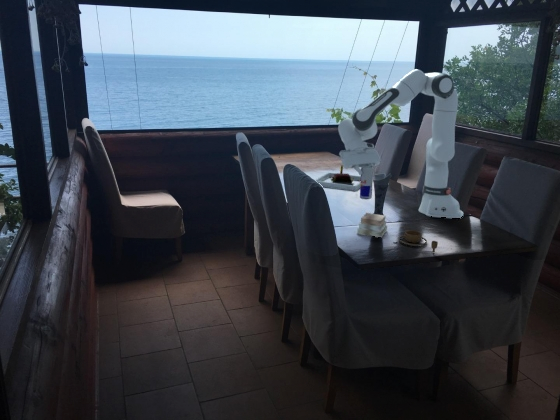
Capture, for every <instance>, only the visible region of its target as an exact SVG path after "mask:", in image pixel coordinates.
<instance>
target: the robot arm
mask: <svg viewBox="0 0 560 420" xmlns="http://www.w3.org/2000/svg"><path fill="white" fill-rule="evenodd" d="M454 84H455V83H454V80H453V78H452V76H451V75H449V74H447V73H445V72H436V71H435V72H434V71H433V72H424V71H422V70H421V69H417V68H415V69H413V70H410V71H409V72H407V73H406V74H405V75H404V76H402V77H401V78H400V79H399V80H398V81H397V82H396V83H395V84H393V86H391V87H390V88H388V89H386V90H384V91H383V92H381V94H379V95H378V96H377V97H376V98H375V99H373V100H372V101H371V102H370V103H368V104H367V105H365V106H362V107H361V108H359V109H357V110H356V111H355V112H354V113H353V115H352V117H351V118H348V117H347V118H345V119H343V120H341V121H340V122H339V124H338V127H337V130H338V135H339V137H340V139H341V142H342V143H343V144H344V148H345V149H344V150H340V151H339V153H338V155H339V157H340V161H341V165H343V169H346V170H347V169H354V170H355V172H357V173H358V174H359V175H358V176H361V175H363V174H364V172H363V170H361V167H373V174H374V173H375V170H374V168H375V167H377V166H379V164H381V162H382V158H381V156H380V154H379V152H378V151H377V149H375V145H374V143H370V142H366V141H367V140H370V139H373V138H374V137H376V135H377V133H378V130H379V129H378V124H377V122H376V118H377V116H378V115H379V114H381V112H383V111H384V110H385V109H386V108H387V107H388V106H390V105H394V106H396V107H404V106H406V105H407V104H409V103H411V101H412V100H413V99H415V98H416V97H417V96H418V94H422V95H425V96H429V97H433V99H434V105H433V106H434V107H433V114H432V121H431V136H432V137H430V138H429V139H428V140H427V142H426V147H425V149H426V151H425V152H426V153H425V165H426V167H425V168H426V169H425V176H424V177H425V178H424V184H423V188H422V198H421V203H420V205H419V208H418V212H419V213H421V214H423V215H426V216H427V217H431V216H432V218H441V217H446V218H445V219H452V218H460V219H462V218H463V217H464V211H462V210H461V209H460V208H461V207H460V203H459V201H458V200H457V199H456V198H455V197H454V196H452V194H451V192H452V191H451V187H448V180H449V179H448V178H449V162H450V161H451V160H452V159H453V158H454V156H455V153H456V150H455V141H456V140H455V139H456V137H455V136H456V135H455V134H456V133H455V132H456V122H457V121H456V120H457V113H458V107H459V105H458V104H459V97H458V96H459V95H458V91H457V90H456V89H455V87H454ZM462 216H463V217H462ZM461 217H462V218H461Z"/></svg>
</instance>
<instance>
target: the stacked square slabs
mask: <svg viewBox="0 0 560 420" xmlns="http://www.w3.org/2000/svg"><path fill="white" fill-rule="evenodd" d="M387 231H388V225H387V220H386V215H383V214H377V213H376V214H375V213H371V212H366V213H365V214H363V216H361V219H360V222H359V224H358V228H357V231H356V234H357V235H362V236H366V235H367V236H368V237H372V236H375V237H374V238H378V237H381V238H383V236H384V235H385V234H386V232H387ZM384 233H385V234H384Z"/></svg>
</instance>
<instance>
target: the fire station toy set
mask: <svg viewBox="0 0 560 420" xmlns="http://www.w3.org/2000/svg"><path fill="white" fill-rule="evenodd" d="M339 169H340V170H339V171H340V172H339V173H335V172H334V173H335V174H334V177H333V178H331V177H329V179H330V181H331V182H332V183H337V184H345V185H353V186H354V184H353V182H355V180H353V179H351V177H350V175H351V174H350V173H344V172H343V169H344V167H343V164H340V167H339Z"/></svg>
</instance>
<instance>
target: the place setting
mask: <svg viewBox="0 0 560 420" xmlns="http://www.w3.org/2000/svg"><path fill="white" fill-rule="evenodd" d="M402 237H405V238H404V240H406V241H407V242H405V241H403V240H400V238H402ZM421 238H422V239H424V240H425V241H426V242H425V243H424V242H423V243H419V242H420V241H421ZM408 241H409V242H412V243H409V242H408ZM398 242H399V243H400V242H402V243H404V244H408V245H424V244H426V245H427V243H428V241H427V239H426V238H425V237H422V232H421V231H419V230H411V229H410V230H406V231H405V234H404V235H400V236H399V237H398ZM416 242H417V243H416ZM402 243H401V244H402ZM438 243H439V242H438V241H436V240H432V241H431V248H432V252H435V253H436V251H435V250H436V249H437V248H438ZM404 244H403V245H404ZM424 246H425V245H424Z"/></svg>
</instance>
